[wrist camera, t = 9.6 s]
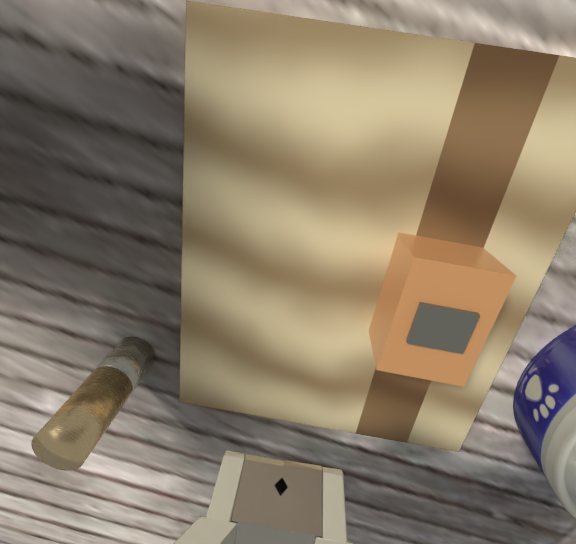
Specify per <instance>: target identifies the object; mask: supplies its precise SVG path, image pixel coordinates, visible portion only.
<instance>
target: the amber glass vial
mask: <svg viewBox="0 0 576 544" xmlns="http://www.w3.org/2000/svg"><path fill="white" fill-rule="evenodd" d="M154 358H155V356H154V351H153V349H152V348H151V346H150V345H149V344H148V343H147V342H145V341H144V340H142V339H139V338H136V337H127V338H124V339H122V340H121V341H120V342H119V343H118V344H117V346H116V347H115V348H114V349H113V350H112V351H111V352H110V353H109V354H108V356H107V357H106V358H105V359H104V360H103V361H102V362H101V363H100V364H99V366H98V367H97V368H96V369H95V370H94V371H93V372H92V373H91V374H90V376H89V377H88V378H87V379H86V380H85V381H84V382H83V383H82V384H81V386H80V387H79V388H78V389H77V390H76V391H75V392H74V393H73V394H72V396H71V397H70V398H69V399H68V400H67V401H66V402H65V403H64V404H63V406H62V407H61V408H60V409H59V410H58V411H57V412H56V413H55V414H54V416H53V417H52V418H51V419H50V420H49V421H48V422H47V423H46V424H45V426H44V427H43V428H42V429H41V430H40V431H39V432H38V433H37V434H36V436H35V437H34V438H33V440H32V449H33V451H34V453H35V454H36V456H37V457H38V458H39V459H40V460H41V461H42V462H44V463H45V464H47V465H49V466H51V467H53V468H56V469H60V470H67V471H68V470H75V469H78V468H79V467H81V466H82V464H83V463H84V461H85V460H86V459H87V457H88V456H89V454H90V453H91V451H92V450H93V448H94V447H95V446H96V444H97V443H98V441H99V440H100V438H101V437H102V435H103V434H104V433H105V431H106V430H107V428H108V427H109V425H110V424H111V422H112V421H113V420H114V418H115V417H116V415H117V414H118V412H119V411H120V409H121V408H122V407H123V405H124V404H125V402H126V401H127V399H128V398H129V396H130V395H131V393H132V392H133V391H134V389H135V388H136V386H137V385H138V383H139V382H140V380H141V379H142V378H143V376H144V375H145V373H146V372H147V370H148V369H149V367H150V366H151V365H152V363H153V361H154Z"/></svg>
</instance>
